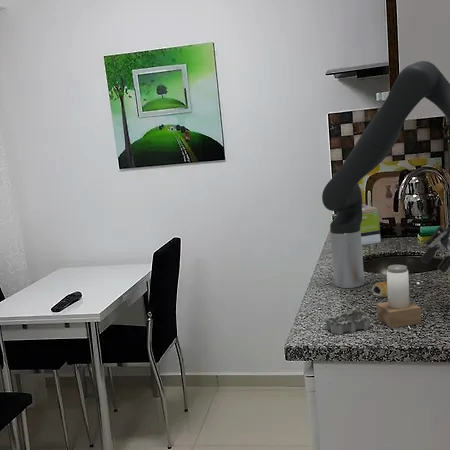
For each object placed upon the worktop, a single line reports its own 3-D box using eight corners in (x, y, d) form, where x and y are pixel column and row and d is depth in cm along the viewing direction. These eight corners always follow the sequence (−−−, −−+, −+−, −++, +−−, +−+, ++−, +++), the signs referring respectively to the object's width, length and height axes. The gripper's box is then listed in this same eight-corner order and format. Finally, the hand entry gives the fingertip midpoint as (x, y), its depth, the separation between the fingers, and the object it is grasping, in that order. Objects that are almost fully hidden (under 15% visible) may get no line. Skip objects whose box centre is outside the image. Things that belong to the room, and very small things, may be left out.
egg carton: (362, 321, 152) (361, 306, 151) (374, 330, 145) (373, 314, 144) (322, 327, 151) (321, 311, 150) (332, 336, 143) (331, 320, 143)
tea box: (344, 240, 256) (342, 206, 253) (366, 237, 257) (364, 203, 255) (358, 245, 241) (356, 210, 239) (381, 242, 243) (379, 207, 240)
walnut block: (377, 318, 152) (376, 303, 151) (406, 313, 153) (405, 299, 152) (391, 328, 144) (390, 312, 143) (421, 323, 145) (420, 307, 145)
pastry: (395, 288, 177) (395, 276, 177) (410, 293, 171) (409, 280, 170) (369, 294, 174) (368, 281, 173) (383, 299, 168) (382, 286, 167)
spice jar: (384, 304, 150) (382, 265, 148) (403, 301, 151) (402, 263, 149) (393, 309, 145) (392, 270, 143) (413, 307, 146) (412, 267, 144)
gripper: (445, 202, 154) (408, 251, 155) (477, 211, 141) (435, 265, 141) (465, 219, 156) (427, 267, 157) (498, 228, 142) (457, 282, 143)
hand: (431, 266), depth 149 cm, fingers open, 8 cm apart
